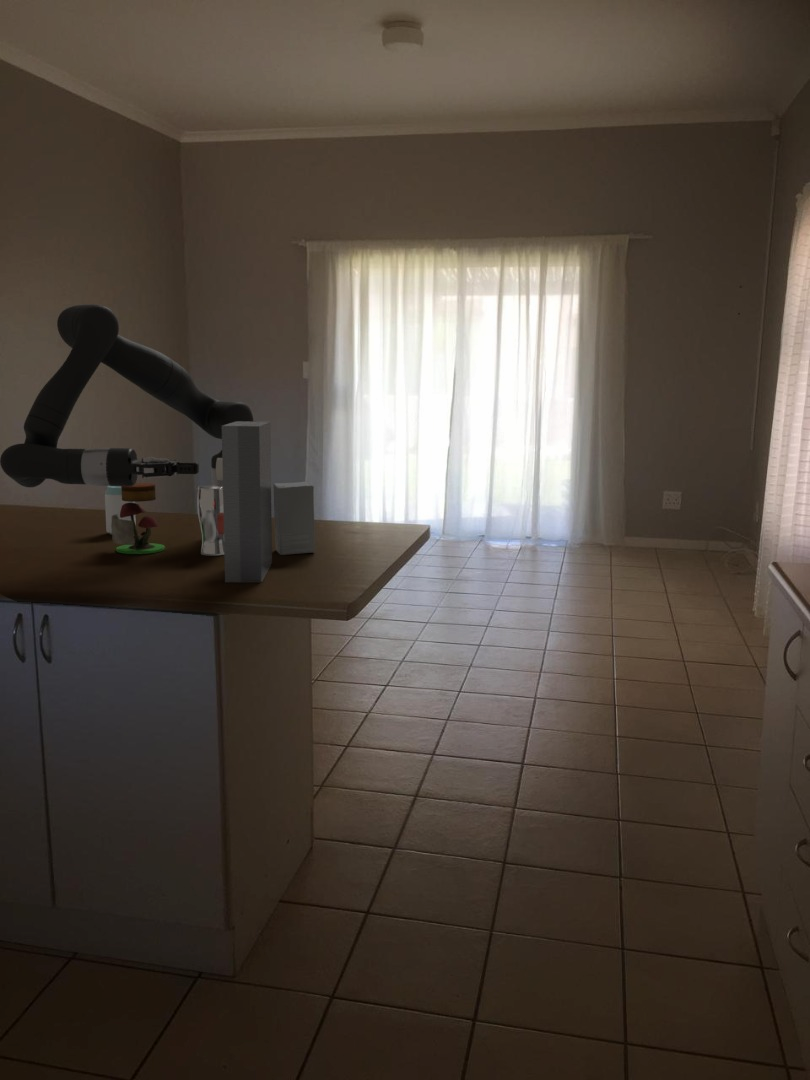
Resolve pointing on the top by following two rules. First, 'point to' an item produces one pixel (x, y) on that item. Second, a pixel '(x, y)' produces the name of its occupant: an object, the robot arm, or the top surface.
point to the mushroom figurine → (127, 529)
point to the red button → (220, 523)
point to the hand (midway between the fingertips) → (198, 468)
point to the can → (114, 505)
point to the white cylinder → (219, 469)
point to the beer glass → (210, 519)
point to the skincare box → (294, 518)
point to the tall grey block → (247, 500)
